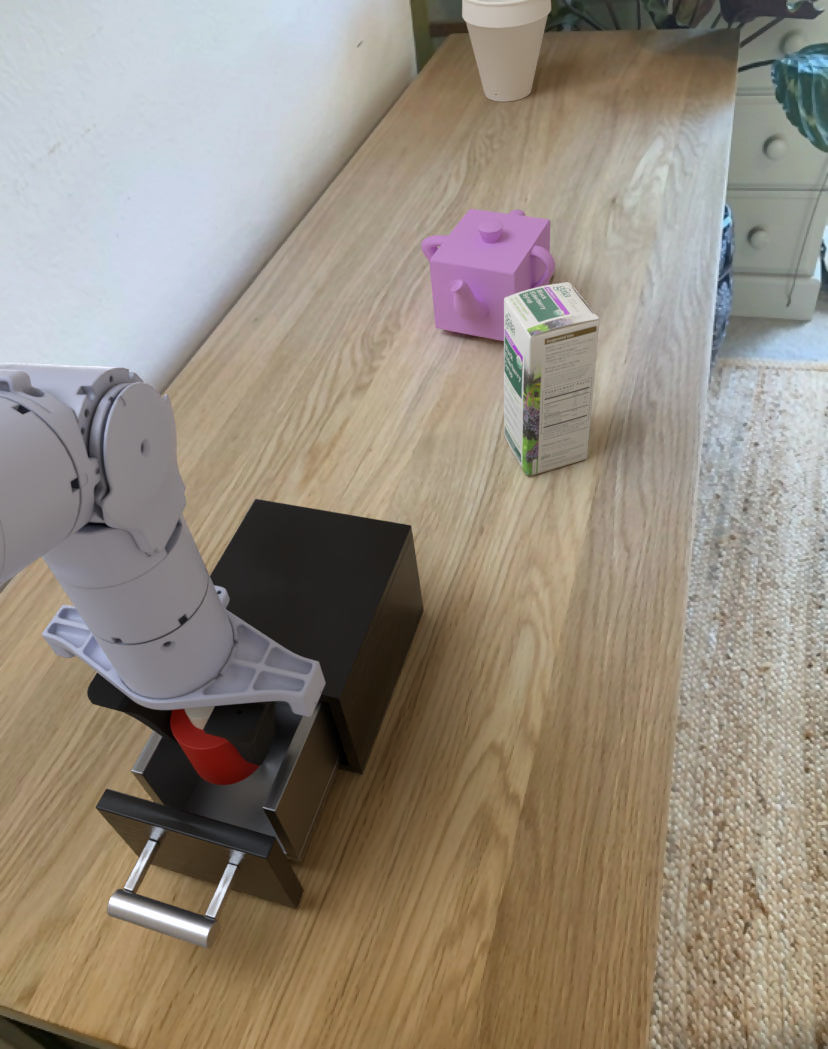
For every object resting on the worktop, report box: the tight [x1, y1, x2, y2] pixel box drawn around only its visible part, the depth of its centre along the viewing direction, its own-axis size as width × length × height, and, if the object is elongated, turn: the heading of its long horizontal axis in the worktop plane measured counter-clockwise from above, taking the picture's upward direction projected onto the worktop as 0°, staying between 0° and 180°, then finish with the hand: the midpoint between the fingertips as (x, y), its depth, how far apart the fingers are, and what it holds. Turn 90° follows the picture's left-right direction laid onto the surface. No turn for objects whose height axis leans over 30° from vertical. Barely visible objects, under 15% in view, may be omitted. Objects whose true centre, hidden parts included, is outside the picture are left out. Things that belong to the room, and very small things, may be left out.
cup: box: [461, 0, 552, 103], centre depth 121 cm, size 12×12×14 cm
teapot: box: [420, 208, 556, 342], centre depth 85 cm, size 18×14×10 cm
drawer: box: [95, 700, 345, 950], centre depth 50 cm, size 17×10×8 cm, turn 162°
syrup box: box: [503, 281, 600, 477], centre depth 69 cm, size 6×6×14 cm
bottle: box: [170, 706, 259, 785], centre depth 47 cm, size 4×4×6 cm
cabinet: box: [209, 498, 425, 776], centre depth 58 cm, size 14×12×10 cm
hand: (224, 738), depth 48 cm, fingers closed on bottle, 4 cm apart
